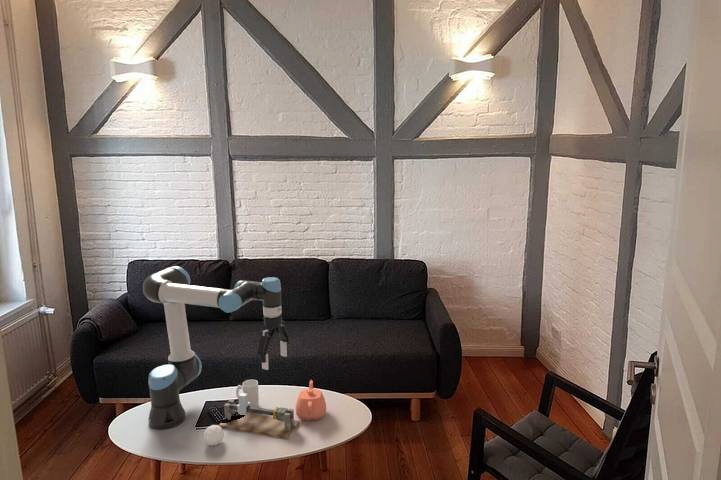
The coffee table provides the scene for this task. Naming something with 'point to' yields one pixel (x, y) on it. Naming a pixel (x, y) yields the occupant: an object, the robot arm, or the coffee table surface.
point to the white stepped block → (243, 404)
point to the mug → (250, 391)
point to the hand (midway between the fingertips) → (274, 362)
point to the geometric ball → (213, 435)
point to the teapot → (310, 404)
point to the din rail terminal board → (262, 421)
